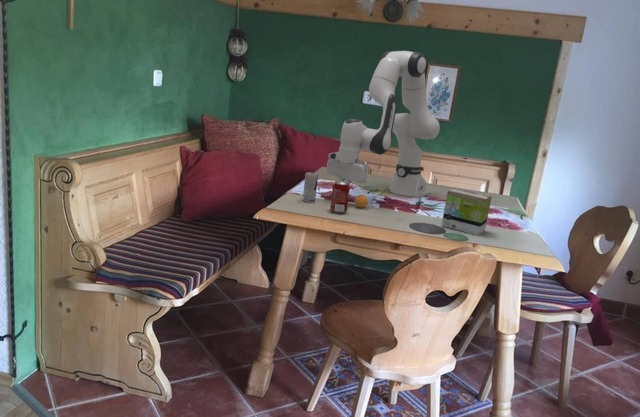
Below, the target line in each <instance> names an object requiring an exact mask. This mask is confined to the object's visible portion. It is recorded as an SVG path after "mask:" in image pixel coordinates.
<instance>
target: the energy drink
mask: <svg viewBox="0 0 640 417" xmlns="http://www.w3.org/2000/svg"><path fill="white" fill-rule="evenodd" d="M318 175H319V174H318V173H316V172H305V174H304V176H305V177H304V184H303V194H302V201H303V202H304V203H315V202H316V196H317V188H318V178H319V176H318Z"/></svg>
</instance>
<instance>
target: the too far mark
mask: <svg viewBox="0 0 640 417" xmlns="http://www.w3.org/2000/svg"><path fill="white" fill-rule="evenodd" d="M443 237H445V238H447V239H449V240H453V241H459V242H466V241H468V240H469V236H466V235H464V234H460V233H456V232H446V233H443Z"/></svg>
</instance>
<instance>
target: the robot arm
mask: <svg viewBox="0 0 640 417" xmlns="http://www.w3.org/2000/svg"><path fill="white" fill-rule="evenodd" d="M426 69H427V59H426V57H425V55H424V54H423V53H421V52H417V51H409V50H396V51H395V50H388V51H386V52H384V53H383V54H382V55H381V57H380V59H379V63H378V64H377V67H376V68H375V70H374V72H373V74H372V76H371V77H372V78H371V81H370V82H369V86H368V92H369V95H370V97H371V98H372V100H374V101H375V102H376V103H378V104H379V105H380V106H381V108H382V115H381V121H380V125H379V128H377V129H375V128H369V127H367V126H366V125H364V124H363V120H361V119H358V118H347V119H346V120H344V122H343V124H342V127H341V132H340V139H339V140H340V145H339V148H338V151H337V152H330V153H328V160H327V163H326V166H325V167H326V168H325V173H326V175H329V176H332V177H336V178H339V180H338V181H341V182H347V183H349V184H348V186H349V187H350V185H351V183H352V182H355V183H358V184H359V183H360V184H364V183H367V181H368V169H369V167H368V163H367V161H365V160H361V159H360V152H361V151H360V150H363V151H366V152H371V153H373V154H375V155H380V156H381V155H383V154H385V153H387V152H388V151H389V150H390V148H391V146H392V138H393V137H392V136H393V134H394V135H395V138H396V140H397V142H398V158H397V163H396V166H395V173H393V175H392V179H391V184H390V186H389V187H388V190H389V191H390V192H391V193H392V194H395V195H400V196H406V197H415V198H423V197H425V196H427V195H429V194H431V191H430V190H427V181H426V179H425V178H424V177H423V176H422V172H423V171H424V172H425V167H424V166H421V162H422V157H423V156H422V154H423V151H422V149H421V148H420V146H418V145H417V143H416V140H415V138H416V139H420V140H434V139H435V138H437V136H438V135H439V133H440V128H441V127H440V126H441V125H440V122H439V120H438V119H437V118H436V117H435V116H434V115H433V114H432V113H431V111H430V108H429V105H428V103H427V87H426V75H425V74H426V73H425V71H426ZM399 78H401V99H402V100H401V102H402V105H403V106H404V107H405V108H406V109H407V110H408V111H409V113H407V112H401V113H396V112H397V106H398V98H397V97H396V95H395V92H396V88H397V85H398V81H399Z"/></svg>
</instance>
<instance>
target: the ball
mask: <svg viewBox="0 0 640 417" xmlns="http://www.w3.org/2000/svg"><path fill="white" fill-rule="evenodd" d="M354 204H355V205H356V207H357V208H359V209H364V208H366V207H367V206H368V204H369V199H368V197H367V196H366V195H364V194H359V195H356V197H355V199H354Z"/></svg>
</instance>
